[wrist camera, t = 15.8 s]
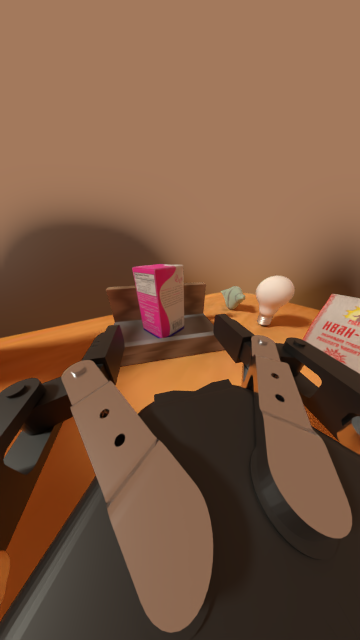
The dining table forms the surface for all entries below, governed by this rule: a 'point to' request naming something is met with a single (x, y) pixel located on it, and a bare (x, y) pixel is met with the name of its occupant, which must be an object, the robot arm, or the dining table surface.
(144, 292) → the supplement box
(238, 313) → the dining table surface
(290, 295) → the lightbulb
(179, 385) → the dining table surface
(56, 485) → the dining table surface
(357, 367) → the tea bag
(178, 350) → the cleat board
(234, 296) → the pale green triangular piece
